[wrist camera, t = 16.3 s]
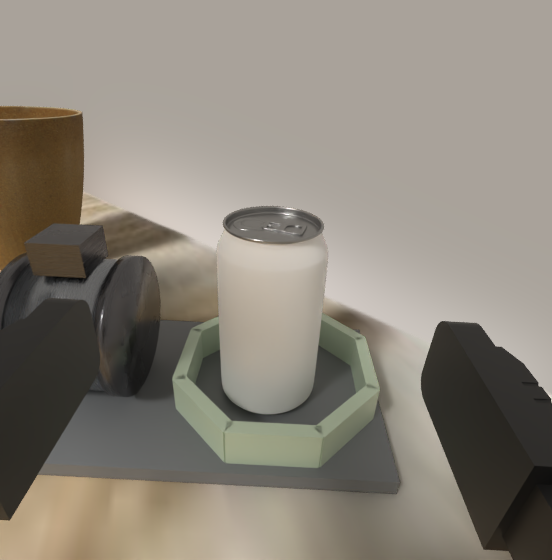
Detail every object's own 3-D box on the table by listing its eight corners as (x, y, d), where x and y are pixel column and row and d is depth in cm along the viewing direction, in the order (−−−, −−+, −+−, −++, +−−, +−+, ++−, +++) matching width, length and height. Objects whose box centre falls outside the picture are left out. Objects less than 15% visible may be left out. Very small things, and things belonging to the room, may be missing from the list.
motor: (11, 423, 23) (-55, 265, 18) (81, 334, 31) (49, 206, 26) (123, 429, 23) (88, 272, 18) (165, 338, 31) (149, 211, 26)
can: (239, 346, 31) (238, 199, 25) (320, 362, 29) (338, 210, 24) (206, 406, 25) (194, 234, 19) (303, 429, 24) (321, 252, 18)
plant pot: (127, 267, 44) (102, 115, 36) (-34, 309, 35) (-111, 123, 28) (86, 227, 54) (60, 102, 46) (-47, 253, 45) (-106, 104, 38)
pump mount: (-31, 470, 22) (-55, 427, 20) (85, 325, 34) (76, 291, 32) (396, 493, 21) (409, 451, 20) (357, 339, 34) (363, 305, 32)
